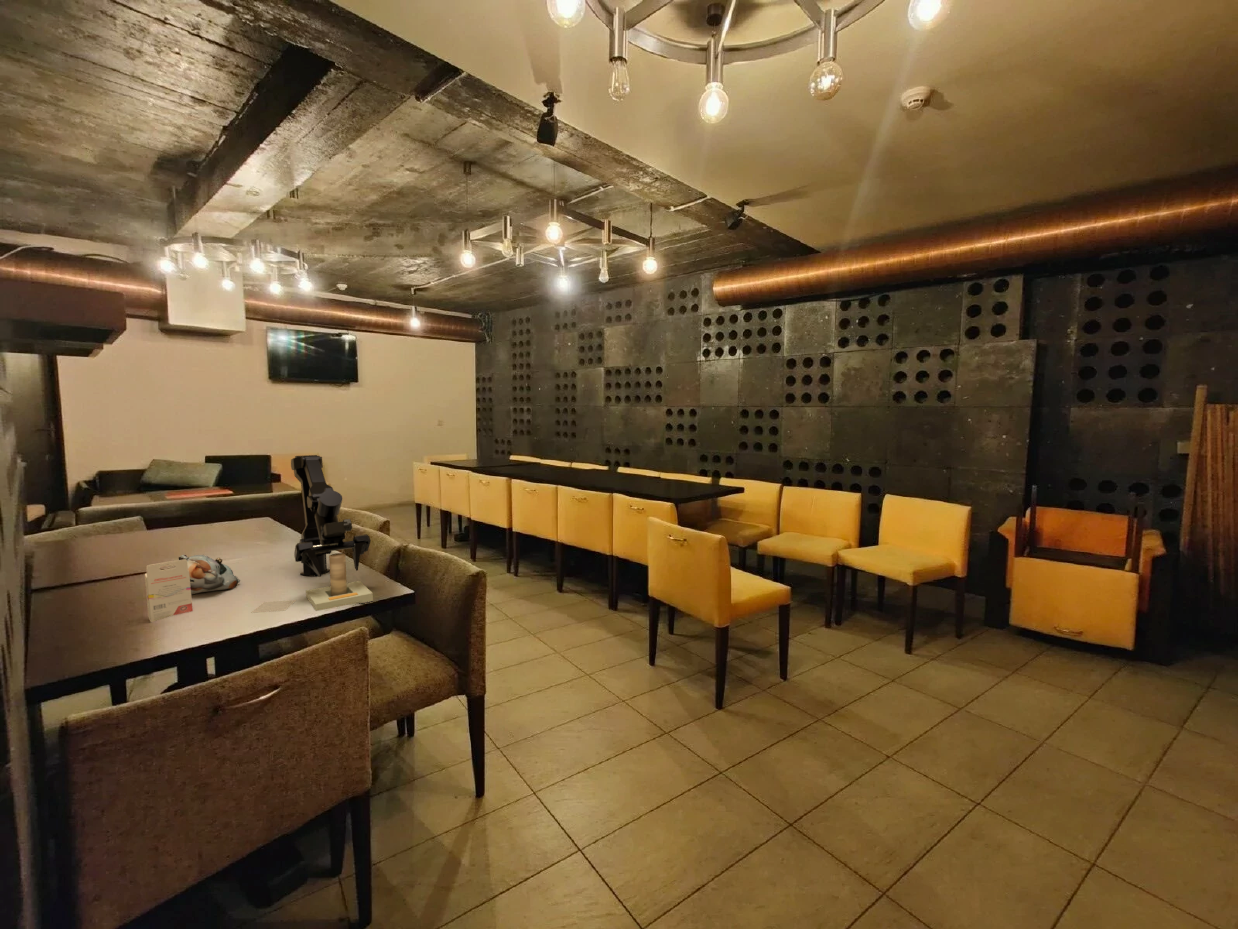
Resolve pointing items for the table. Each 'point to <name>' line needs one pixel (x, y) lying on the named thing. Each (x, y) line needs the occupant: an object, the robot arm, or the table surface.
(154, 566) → the ink cartridge box
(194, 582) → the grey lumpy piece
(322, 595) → the socket block
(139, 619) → the table surface
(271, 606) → the tab
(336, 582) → the birch peg
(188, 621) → the table surface
